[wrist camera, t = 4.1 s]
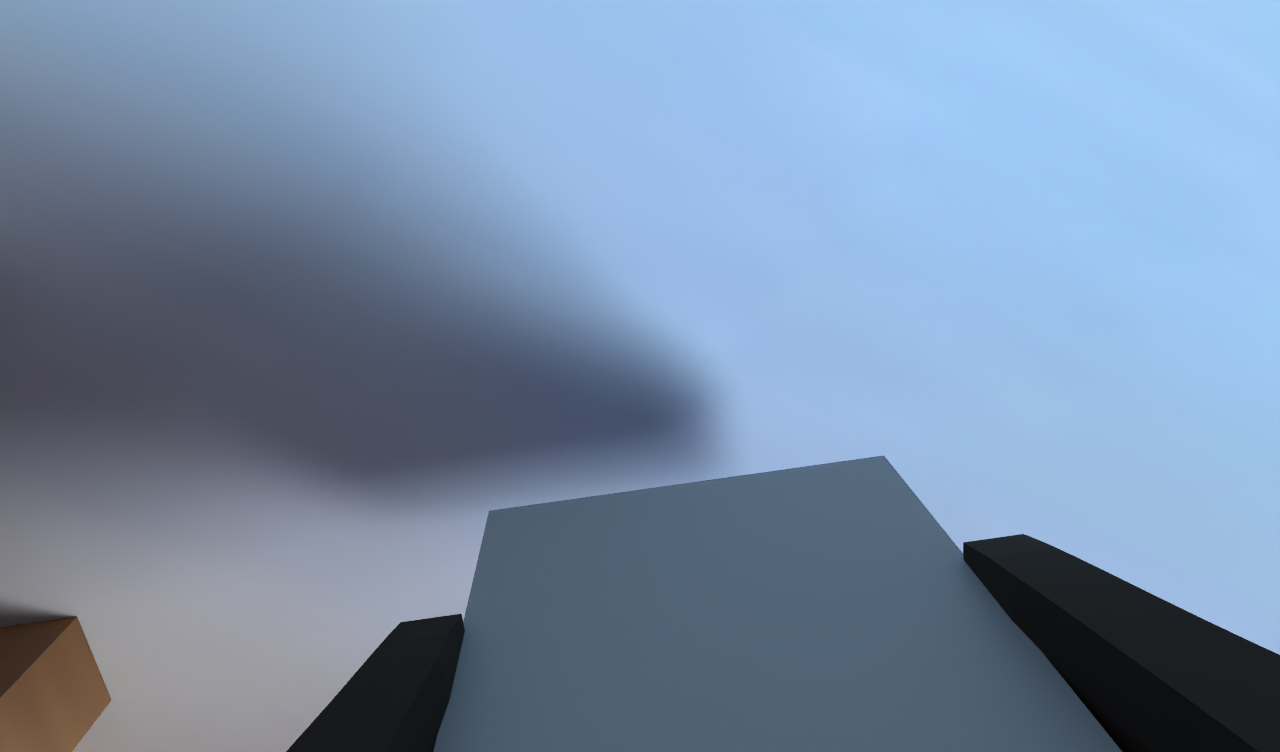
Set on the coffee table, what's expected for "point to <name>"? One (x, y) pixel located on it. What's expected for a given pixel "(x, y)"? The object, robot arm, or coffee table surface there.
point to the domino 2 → (747, 628)
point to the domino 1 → (47, 687)
